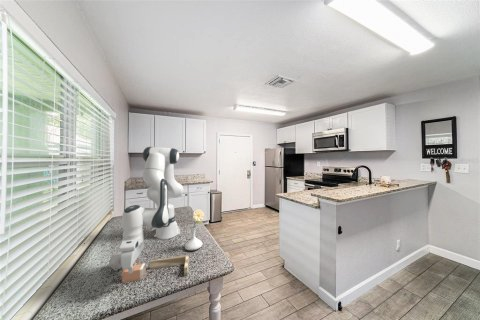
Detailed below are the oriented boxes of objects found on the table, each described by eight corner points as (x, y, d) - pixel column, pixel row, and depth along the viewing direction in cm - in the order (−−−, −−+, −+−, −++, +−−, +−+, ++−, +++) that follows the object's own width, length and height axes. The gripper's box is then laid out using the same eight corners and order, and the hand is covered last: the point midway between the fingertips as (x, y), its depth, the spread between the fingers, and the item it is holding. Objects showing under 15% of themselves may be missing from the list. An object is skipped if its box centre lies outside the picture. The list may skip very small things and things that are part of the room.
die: (104, 273, 94) (109, 262, 90) (110, 257, 101) (115, 246, 98) (123, 274, 98) (128, 263, 94) (127, 258, 105) (132, 247, 102)
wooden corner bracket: (150, 267, 97) (150, 260, 97) (188, 261, 102) (188, 254, 101) (144, 282, 85) (143, 274, 85) (187, 275, 90) (187, 267, 90)
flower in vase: (185, 254, 110) (184, 213, 109) (183, 245, 120) (182, 208, 119) (206, 249, 115) (205, 210, 114) (203, 241, 125) (202, 206, 124)
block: (126, 275, 91) (126, 265, 91) (145, 272, 93) (145, 263, 93) (122, 282, 86) (121, 272, 86) (142, 279, 88) (142, 269, 88)
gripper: (133, 231, 98) (134, 256, 98) (117, 250, 78) (118, 281, 78) (146, 230, 99) (147, 254, 100) (133, 248, 80) (134, 278, 80)
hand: (134, 266), depth 89 cm, fingers open, 8 cm apart
